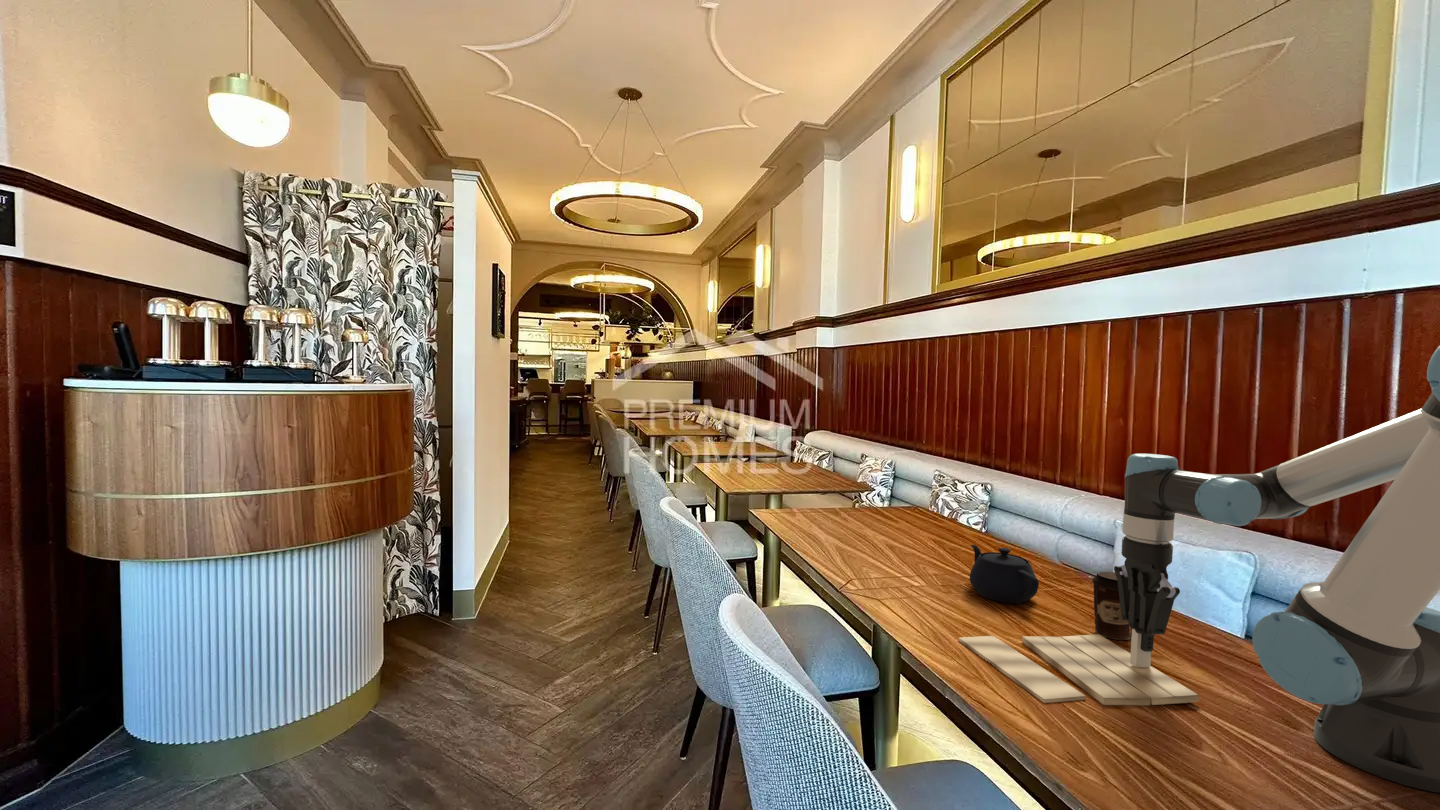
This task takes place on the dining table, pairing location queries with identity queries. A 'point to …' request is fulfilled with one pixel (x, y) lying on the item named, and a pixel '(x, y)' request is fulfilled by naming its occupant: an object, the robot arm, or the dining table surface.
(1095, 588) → the coffee cup
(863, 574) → the dining table surface
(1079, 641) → the plank
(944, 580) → the dining table surface
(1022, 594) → the teapot
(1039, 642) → the laid board
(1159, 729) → the dining table surface
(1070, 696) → the plank
